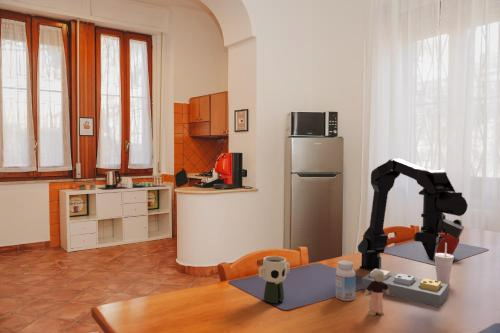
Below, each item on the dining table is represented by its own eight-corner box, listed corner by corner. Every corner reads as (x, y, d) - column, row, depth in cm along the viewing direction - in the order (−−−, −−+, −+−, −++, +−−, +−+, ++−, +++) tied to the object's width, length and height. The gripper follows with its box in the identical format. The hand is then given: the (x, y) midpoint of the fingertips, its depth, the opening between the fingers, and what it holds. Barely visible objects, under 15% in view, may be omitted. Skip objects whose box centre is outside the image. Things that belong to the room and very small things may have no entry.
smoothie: (455, 286, 135) (457, 245, 134) (435, 284, 136) (436, 244, 135) (450, 280, 141) (451, 241, 140) (430, 278, 142) (432, 240, 142)
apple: (459, 255, 174) (460, 228, 173) (457, 261, 165) (458, 232, 164) (432, 251, 180) (433, 225, 179) (428, 257, 171) (429, 229, 170)
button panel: (361, 288, 132) (361, 278, 132) (374, 279, 141) (374, 269, 141) (439, 306, 117) (440, 295, 117) (448, 295, 127) (448, 284, 126)
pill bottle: (355, 295, 126) (356, 260, 125) (354, 302, 120) (355, 266, 119) (336, 293, 127) (337, 258, 127) (334, 300, 122) (334, 264, 121)
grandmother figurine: (371, 318, 109) (372, 272, 108) (361, 312, 113) (363, 268, 112) (392, 313, 112) (393, 269, 112) (383, 308, 116) (384, 265, 115)
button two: (394, 284, 129) (394, 276, 128) (398, 280, 133) (399, 272, 132) (410, 288, 126) (410, 279, 125) (414, 283, 130) (414, 275, 129)
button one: (370, 279, 133) (370, 271, 133) (375, 275, 137) (375, 268, 137) (384, 282, 130) (385, 274, 130) (389, 278, 134) (390, 270, 134)
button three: (419, 290, 124) (420, 281, 124) (424, 285, 128) (424, 277, 128) (437, 294, 121) (437, 285, 121) (440, 289, 125) (441, 281, 125)
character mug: (264, 308, 115) (264, 264, 114) (252, 299, 121) (253, 258, 121) (295, 301, 120) (296, 259, 119) (282, 293, 126) (283, 253, 126)
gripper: (455, 217, 111) (454, 272, 111) (467, 209, 125) (465, 258, 126) (414, 213, 117) (412, 265, 118) (429, 206, 132) (428, 252, 133)
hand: (431, 260), depth 124 cm, fingers closed
